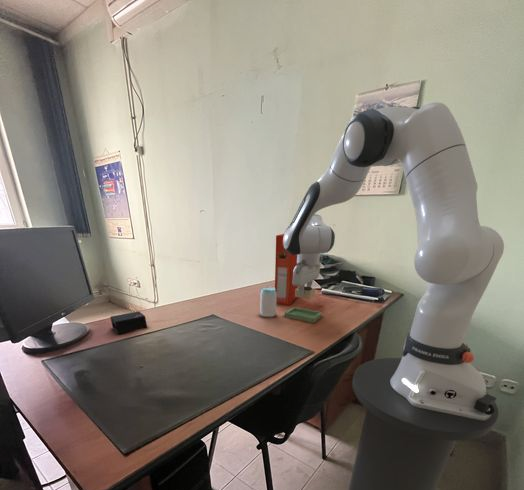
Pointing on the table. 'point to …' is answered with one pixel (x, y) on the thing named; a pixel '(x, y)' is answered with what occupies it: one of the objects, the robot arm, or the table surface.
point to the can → (268, 302)
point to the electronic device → (128, 322)
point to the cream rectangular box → (308, 293)
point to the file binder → (284, 273)
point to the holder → (303, 314)
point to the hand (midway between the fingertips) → (305, 292)
